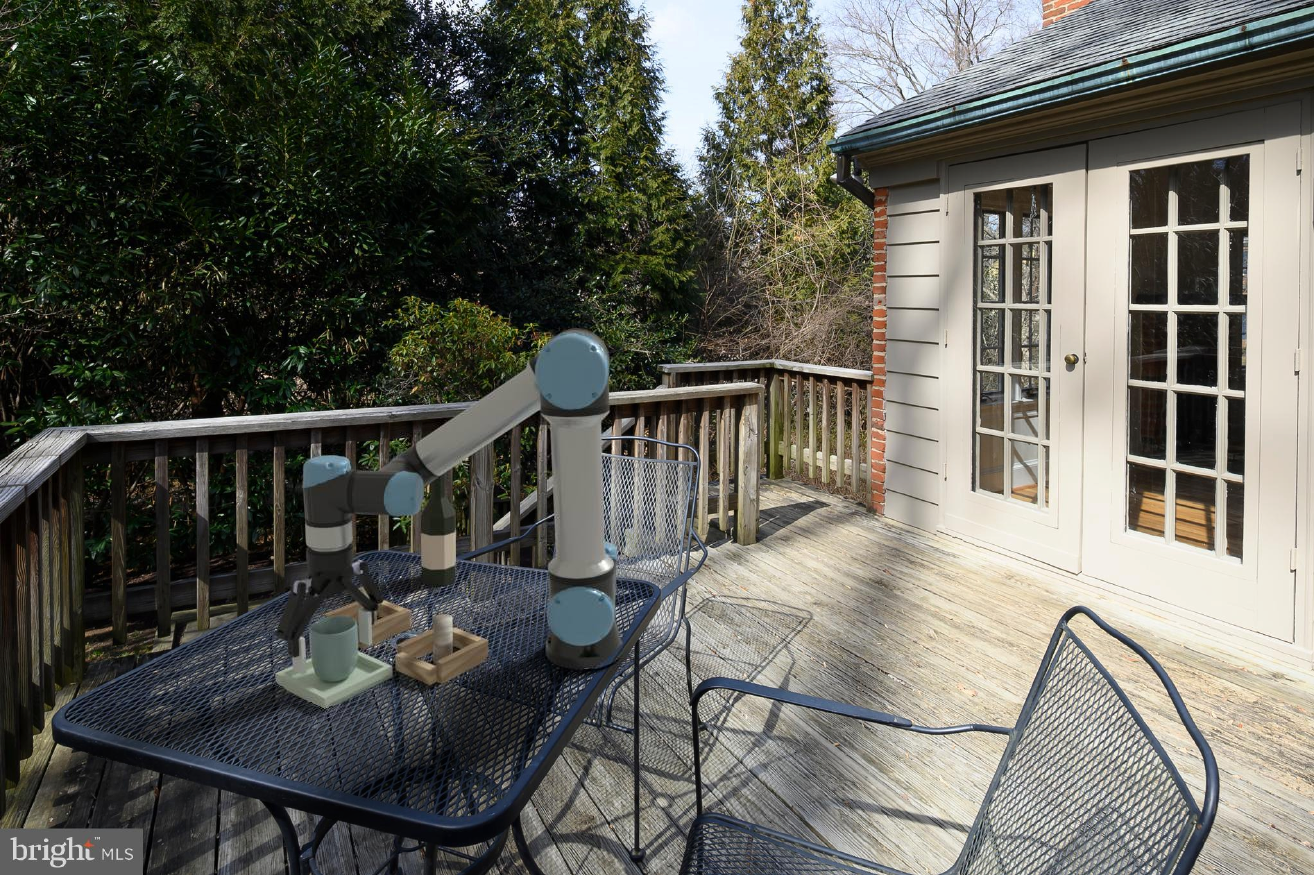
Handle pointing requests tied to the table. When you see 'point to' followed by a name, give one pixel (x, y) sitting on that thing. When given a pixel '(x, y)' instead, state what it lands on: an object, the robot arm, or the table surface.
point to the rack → (422, 642)
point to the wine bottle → (438, 537)
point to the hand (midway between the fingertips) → (334, 656)
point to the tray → (334, 692)
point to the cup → (334, 647)
